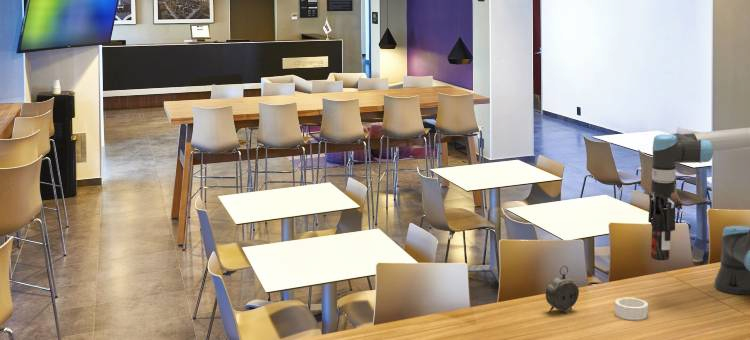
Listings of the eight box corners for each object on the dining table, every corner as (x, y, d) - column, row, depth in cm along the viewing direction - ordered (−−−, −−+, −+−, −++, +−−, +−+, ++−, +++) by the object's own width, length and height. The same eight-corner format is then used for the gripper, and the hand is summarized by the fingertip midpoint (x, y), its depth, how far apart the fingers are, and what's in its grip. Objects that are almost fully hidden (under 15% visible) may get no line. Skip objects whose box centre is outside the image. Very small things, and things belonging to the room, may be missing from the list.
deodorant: (670, 260, 298) (672, 217, 295) (651, 260, 299) (653, 217, 296) (667, 255, 303) (669, 213, 300) (650, 255, 304) (651, 213, 302)
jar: (637, 308, 300) (638, 296, 299) (653, 318, 290) (653, 306, 289) (609, 310, 298) (610, 299, 297) (624, 321, 288) (624, 309, 287)
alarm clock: (571, 307, 302) (572, 261, 299) (580, 312, 297) (582, 266, 294) (544, 311, 298) (545, 265, 295) (553, 316, 293) (554, 270, 290)
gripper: (639, 176, 304) (636, 240, 309) (667, 186, 286) (664, 255, 290) (659, 174, 306) (656, 239, 310) (688, 185, 288) (685, 253, 292)
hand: (660, 246), depth 300 cm, fingers closed on deodorant, 6 cm apart
